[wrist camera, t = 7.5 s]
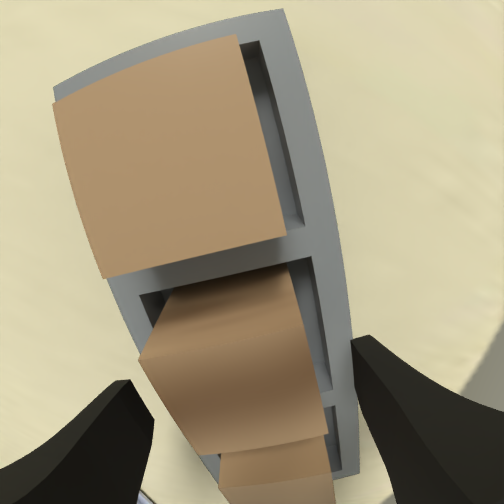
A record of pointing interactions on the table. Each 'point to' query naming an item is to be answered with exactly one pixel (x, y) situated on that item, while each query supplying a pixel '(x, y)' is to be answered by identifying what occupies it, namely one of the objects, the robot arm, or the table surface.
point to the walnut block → (236, 363)
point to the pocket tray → (296, 211)
